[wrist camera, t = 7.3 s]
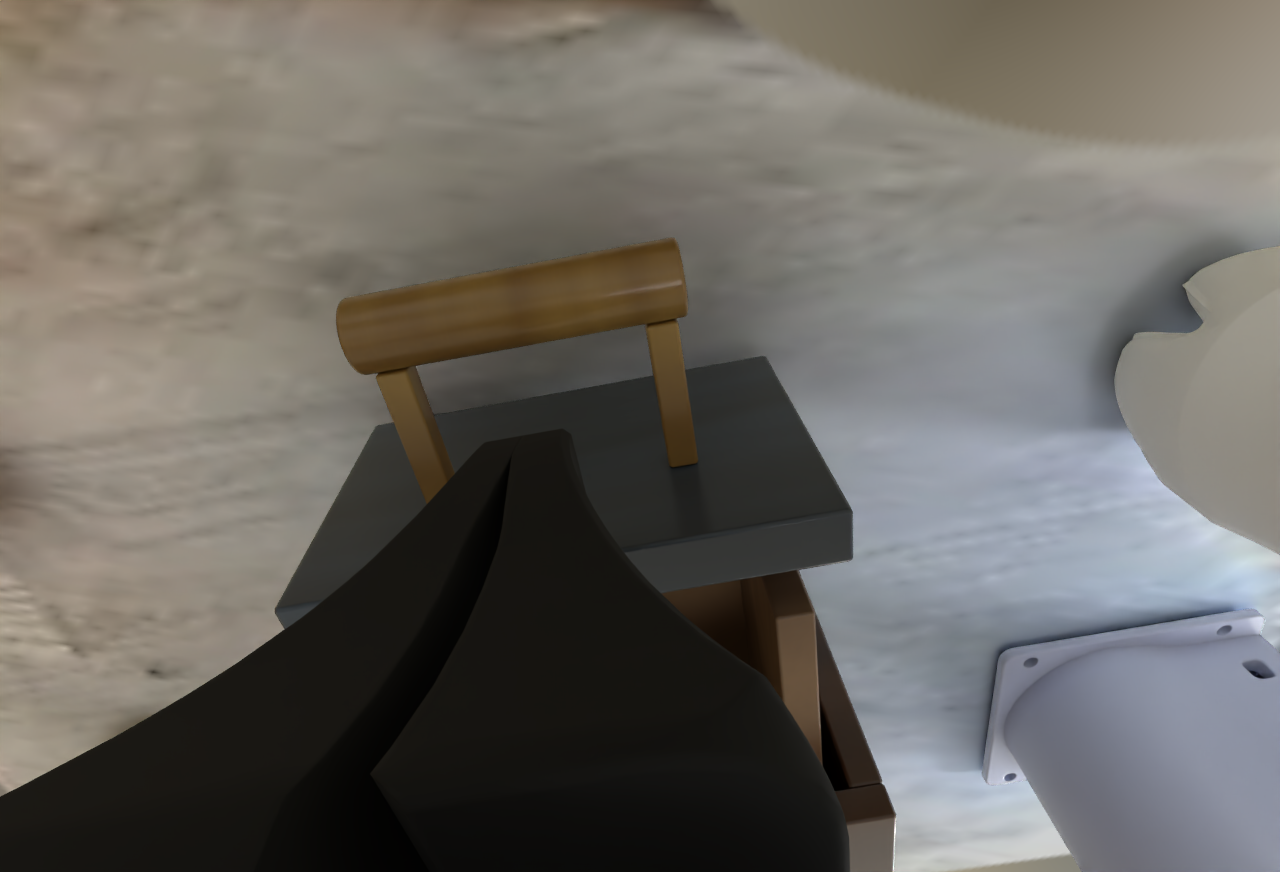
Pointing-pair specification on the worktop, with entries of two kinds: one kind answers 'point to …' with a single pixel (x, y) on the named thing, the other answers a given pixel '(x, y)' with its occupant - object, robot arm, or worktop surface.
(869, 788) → the cabinet
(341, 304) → the drawer
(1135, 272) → the worktop surface
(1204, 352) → the water bottle
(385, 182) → the worktop surface
